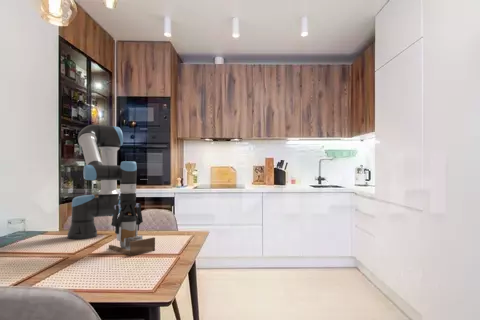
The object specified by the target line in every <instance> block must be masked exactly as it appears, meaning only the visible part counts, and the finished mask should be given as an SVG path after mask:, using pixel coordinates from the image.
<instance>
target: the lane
mask: <svg viewBox="0 0 480 320" xmlns="http://www.w3.org/2000/svg"><path fill="white" fill-rule="evenodd" d="M108 249H110V250H112V249H113V251H115V250H116V252H120V253H122V254H126V255H127V256H136V255H141V254H145V253H149V252H154V251H156V237H149V238H144V239H143V238H142V240H137V241H132V242H130V250H127V249H124V248H121V246H117V245H114V244H108Z"/></svg>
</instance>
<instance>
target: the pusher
mask: <svg viewBox="0 0 480 320" xmlns="http://www.w3.org/2000/svg"><path fill="white" fill-rule="evenodd" d="M142 239H143V235H138V236H134V237H129V238H124V249H127V250H130V242H132V241H137V240H142Z"/></svg>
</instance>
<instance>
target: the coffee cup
mask: <svg viewBox="0 0 480 320" xmlns="http://www.w3.org/2000/svg"><path fill="white" fill-rule="evenodd" d="M136 221H137V220H136V216H133V215H131V214H125V215H124V217H123V218H122V222H121V224H120V227H121V241H119V245H120V246H119V247H121V248H124V238H129V237H134V236H135V230H136V229H135V228H136Z"/></svg>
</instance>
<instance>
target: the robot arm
mask: <svg viewBox="0 0 480 320" xmlns="http://www.w3.org/2000/svg"><path fill="white" fill-rule="evenodd" d="M77 141H78V144H79V146H80V147H81V149H82V153H83V157H84V161H85V165H84V166H83V172H82V174H83V180H86V181H92V182H93V181H100V192H98V194H97V196H95V194H85V195H79V196H75V197H73V198H72V200H71V219H70V220H71V223H70V226H69V228H68V229H69V230H68V232H67V239H70V240H85V239H91V238H95V237H97V236H98V231H97V228H96V225H95V218H101V217H102V218H103V217H112V218H111V223H110V225H111V226H112V227H115V228H114V230H115V231H114V234H116V241H118V242H120V241H121V227H120V224H121V222H122V218H123V217H124V215H126V213H130V215H133V216H136V220H137V221H136V228H135V229H136V230H135V236H139V233H138V231H139V230H140V225H141V223H143V222H144V221H143V214H142V213H143V212H142V203H140V202H139V203H138V202H136V201H137V193H136V192H137V169H138V168H137V162H136V161H134V160H133V161H131V160H130V161H127V160H126V161H124V160H123V161H121V162H120V165H118V151H119V150H120V148H121V146H123V144H124V134H123V131H122V129H121V128H120V127H119V126H113V125H101V124H89V125H86V126H84V127H83V128H82V129H81V130H80V132H78V135H77ZM99 150H101V155H100V152H99ZM117 181H119V183H120V185H119V192H118V190H117V187H118V186H117V184H118V183H117Z"/></svg>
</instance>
